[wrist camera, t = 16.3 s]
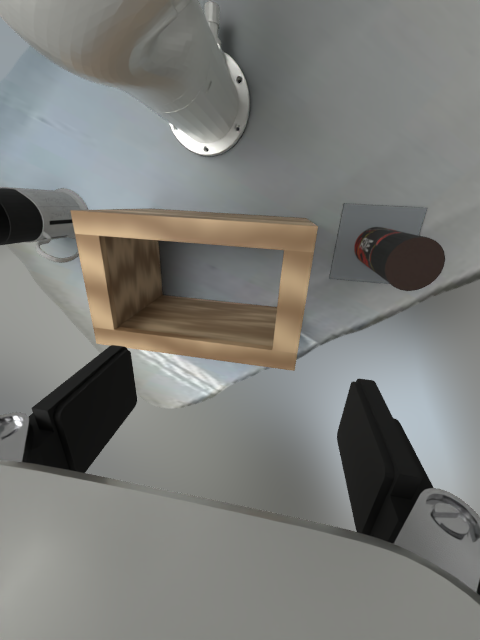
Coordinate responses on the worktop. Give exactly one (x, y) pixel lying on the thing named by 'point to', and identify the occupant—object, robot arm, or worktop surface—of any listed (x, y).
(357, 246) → the deodorant
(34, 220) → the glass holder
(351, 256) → the mat
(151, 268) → the cover
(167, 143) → the worktop surface
